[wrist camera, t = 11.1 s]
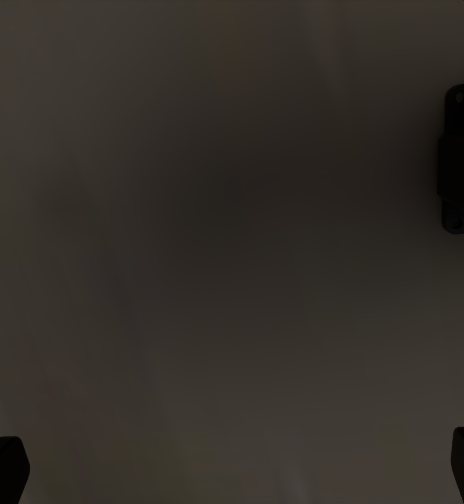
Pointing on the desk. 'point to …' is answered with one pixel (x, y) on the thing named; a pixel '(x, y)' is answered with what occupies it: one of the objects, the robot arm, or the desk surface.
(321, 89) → the desk surface
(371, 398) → the desk surface
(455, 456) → the robot arm
